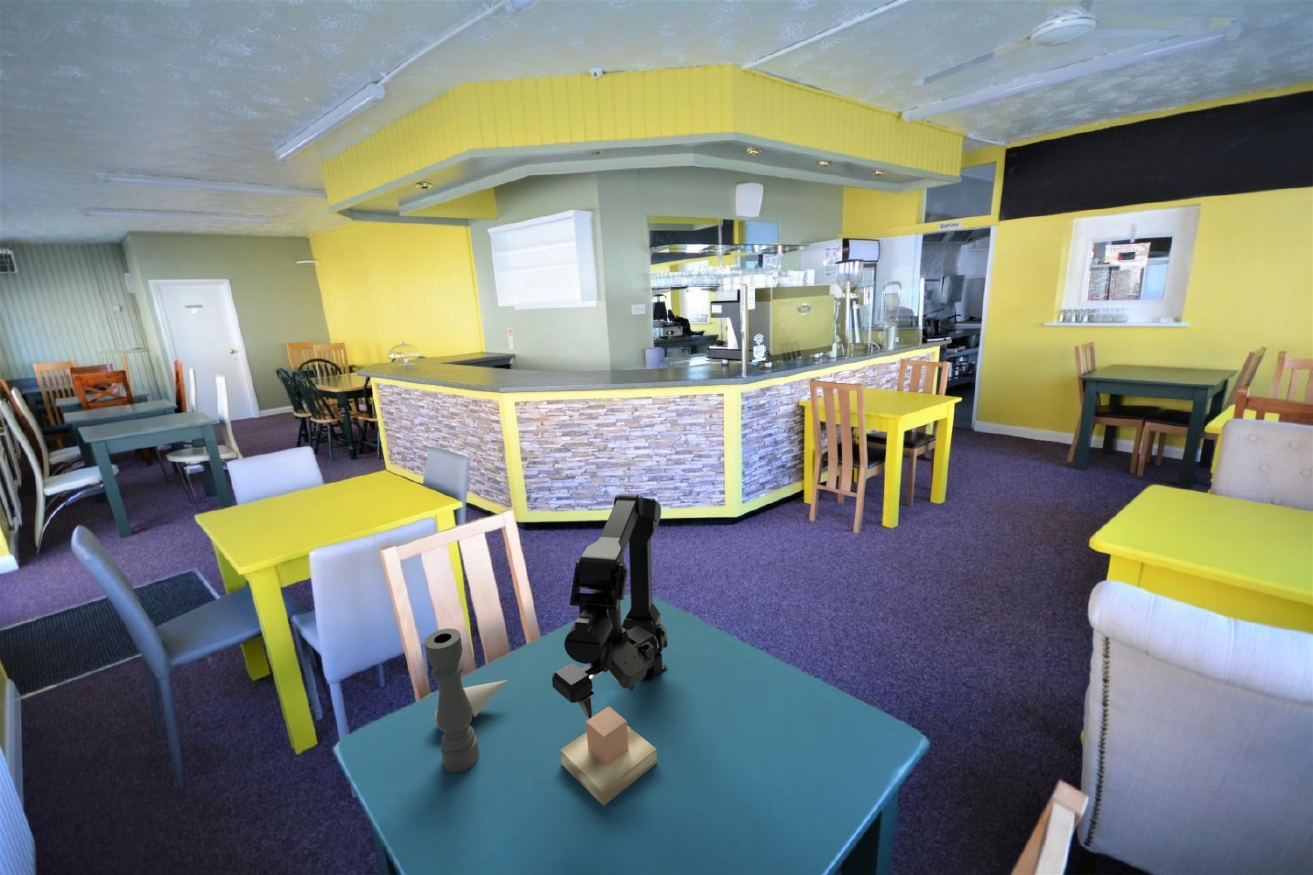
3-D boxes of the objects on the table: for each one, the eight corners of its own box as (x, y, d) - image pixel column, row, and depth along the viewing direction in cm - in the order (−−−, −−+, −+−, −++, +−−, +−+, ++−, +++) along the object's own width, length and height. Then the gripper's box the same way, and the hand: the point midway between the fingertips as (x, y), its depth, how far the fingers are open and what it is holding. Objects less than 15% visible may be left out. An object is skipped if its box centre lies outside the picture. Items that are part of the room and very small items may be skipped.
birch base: (561, 763, 102) (560, 749, 101) (613, 726, 109) (612, 713, 109) (603, 805, 93) (602, 791, 92) (657, 762, 101) (656, 748, 100)
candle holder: (486, 757, 104) (468, 636, 97) (454, 778, 99) (433, 654, 93) (468, 739, 108) (450, 623, 101) (437, 760, 103) (416, 639, 97)
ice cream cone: (514, 696, 118) (442, 739, 111) (502, 670, 121) (430, 710, 114) (515, 689, 113) (440, 733, 106) (502, 662, 116) (427, 703, 109)
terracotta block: (588, 749, 101) (585, 721, 99) (610, 733, 104) (608, 706, 102) (606, 765, 97) (603, 736, 95) (628, 749, 100) (626, 720, 99)
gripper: (588, 674, 83) (595, 761, 87) (678, 619, 95) (681, 698, 100) (546, 641, 91) (554, 722, 95) (634, 595, 103) (638, 668, 107)
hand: (610, 702), depth 99 cm, fingers open, 9 cm apart
